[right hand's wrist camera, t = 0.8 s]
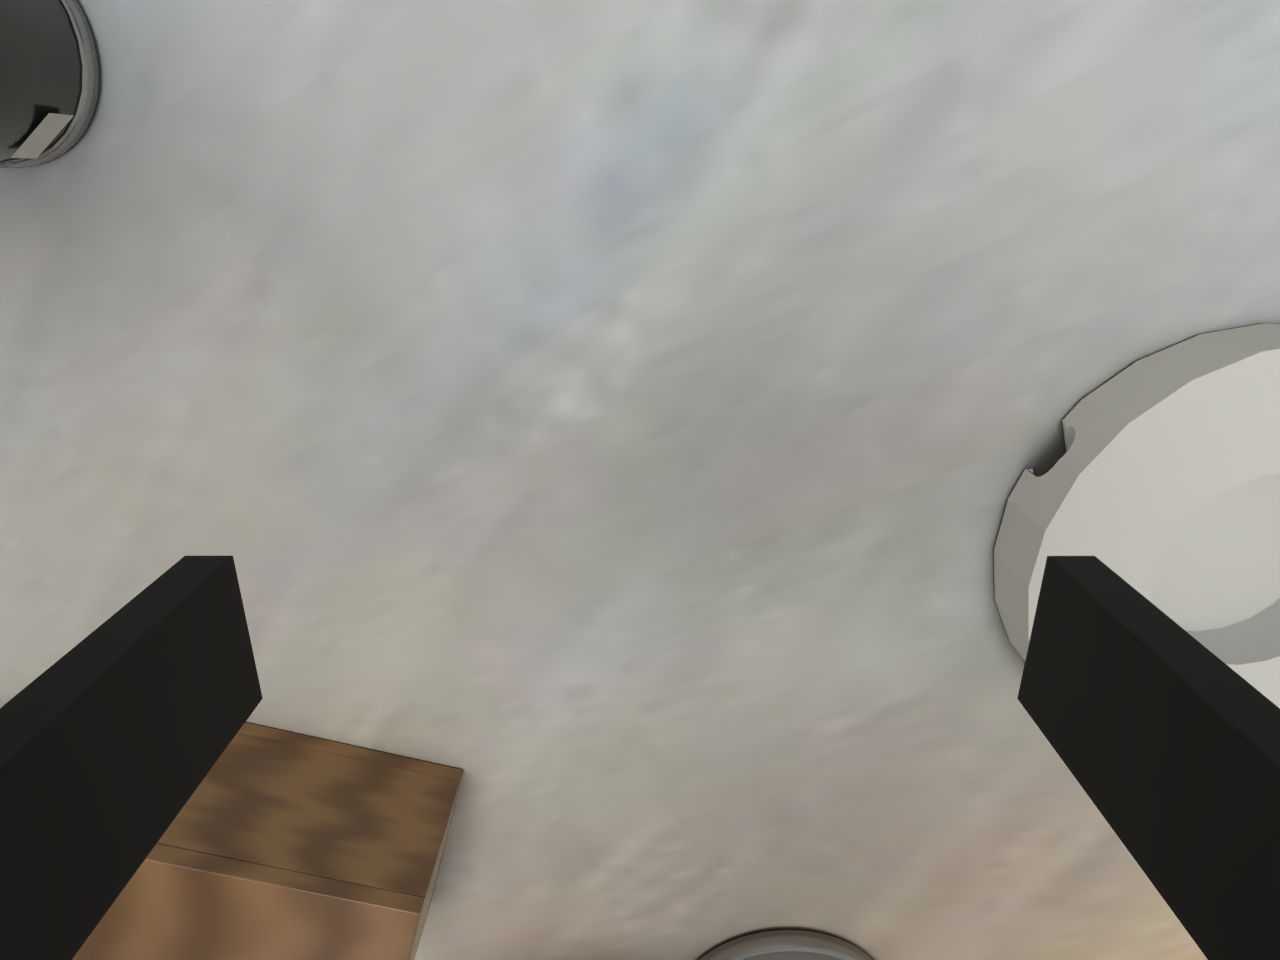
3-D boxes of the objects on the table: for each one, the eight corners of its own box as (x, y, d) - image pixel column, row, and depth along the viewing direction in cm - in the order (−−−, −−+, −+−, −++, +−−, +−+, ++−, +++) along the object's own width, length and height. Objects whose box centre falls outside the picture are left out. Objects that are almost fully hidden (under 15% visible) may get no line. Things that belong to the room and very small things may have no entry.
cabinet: (92, 835, 49) (-35, 988, 40) (97, 689, 45) (-44, 821, 36) (430, 903, 51) (384, 1064, 42) (463, 769, 47) (420, 914, 38)
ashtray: (1457, 258, 36) (1550, 267, 33) (1434, 660, 44) (1507, 705, 41) (960, 405, 39) (994, 429, 35) (1023, 760, 47) (1056, 811, 43)
